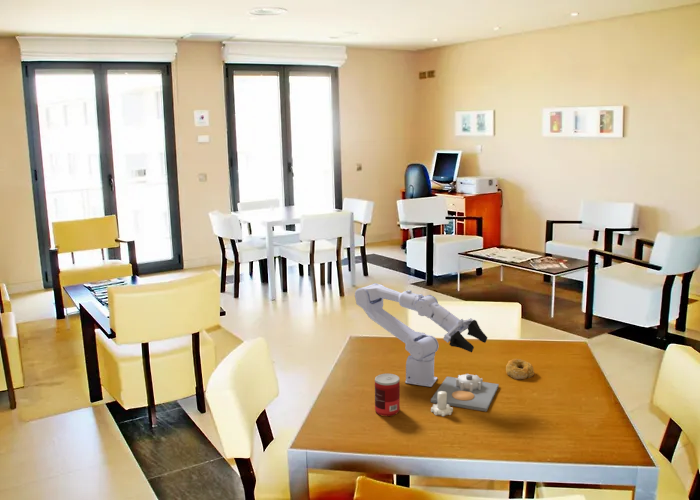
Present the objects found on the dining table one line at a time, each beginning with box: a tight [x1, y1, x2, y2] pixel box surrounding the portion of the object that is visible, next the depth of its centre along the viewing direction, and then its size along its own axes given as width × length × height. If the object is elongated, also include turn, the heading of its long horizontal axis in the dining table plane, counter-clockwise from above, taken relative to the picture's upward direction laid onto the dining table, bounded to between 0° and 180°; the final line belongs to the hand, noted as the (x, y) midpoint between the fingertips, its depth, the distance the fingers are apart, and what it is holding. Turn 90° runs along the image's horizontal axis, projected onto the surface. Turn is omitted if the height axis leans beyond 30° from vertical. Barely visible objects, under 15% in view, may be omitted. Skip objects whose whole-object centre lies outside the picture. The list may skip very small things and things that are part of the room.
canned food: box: [374, 373, 401, 417], centre depth 202 cm, size 8×8×11 cm
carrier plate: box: [430, 373, 500, 412], centre depth 214 cm, size 18×20×4 cm
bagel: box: [505, 358, 535, 380], centre depth 230 cm, size 10×11×5 cm
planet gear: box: [430, 391, 454, 417], centre depth 202 cm, size 6×6×6 cm
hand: (479, 344), depth 207 cm, fingers open, 7 cm apart
